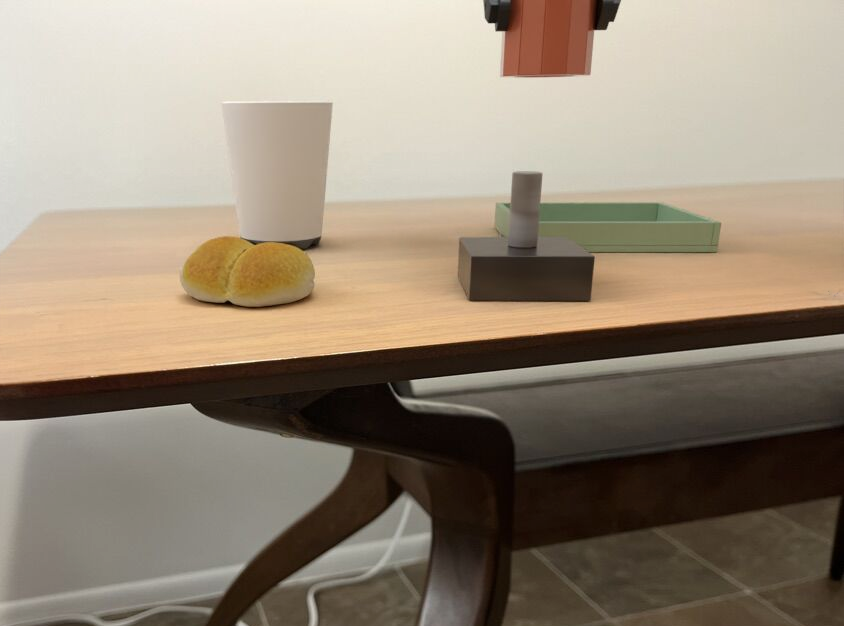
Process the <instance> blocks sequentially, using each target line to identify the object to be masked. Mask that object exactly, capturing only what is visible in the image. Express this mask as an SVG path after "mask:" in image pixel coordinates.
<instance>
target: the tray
mask: <svg viewBox="0 0 844 626" xmlns="http://www.w3.org/2000/svg"><path fill="white" fill-rule="evenodd" d="M510 203H511V202H495V209H494V228H495V230H496V231H497V232H498V233H499V234H500V235H502V237H508V235H509V219H510ZM721 228H722V222H721V221H718V220H715V219H713V218H710V217H706V216H704V215H701V214H698V213H695V212H692V211H690V210H686V209H683V208H681V207H677V206H675V205H671V204H668V203H665V202H662V201H658V202H657V201H656V202H653V201H652V202H650V201H649V202H648V201H645V202H641V201H640V202H639V201H637V202H636V201H635V202H634V201H633V202H632V201H631V202H629V201H627V202H623V201H622V202H619V201H617V202H616V201H615V202H613V201H612V202H609V201H608V202H607V201H606V202H602V201H601V202H597V201H596V202H595V201H594V202H591V201H590V202H583V201H582V202H581V201H580V202H578V201H577V202H570V201H569V202H565V201H564V202H558V201H557V202H555V201H553V202H540V215H539V228H538V237H567V238H569V239H570V240H572V241H573V242H574V243H576V244H577V245H579V246H580V247H582V248H583V249H585V250H586V251H587V252H589V253H718V248H719V241H720V234H721V230H722V229H721Z"/></svg>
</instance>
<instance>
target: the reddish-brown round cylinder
mask: <svg viewBox="0 0 844 626" xmlns="http://www.w3.org/2000/svg"><path fill="white" fill-rule="evenodd" d="M596 4H597V0H511V11H510V17H509V22H508V27H507V31H501V46H500V65H499V69H500V70H499V77H500V78H509V79H510V78H511V79H512V78H514V79H530V78H532V79H534V78H536V79H537V78H539V79H540V78H543V79H544V78H571V77H572V78H574V77H576V78H577V77H588V76H589V77H590V76H591V73H592V63H593V51H594V40H595V30H594V28H595V16H596Z"/></svg>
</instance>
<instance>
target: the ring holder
mask: <svg viewBox="0 0 844 626" xmlns="http://www.w3.org/2000/svg"><path fill="white" fill-rule="evenodd" d="M543 175H544V174H543V172H542V171H537V170H536V171H532V170H520V171H519V170H518V171H513V172H512V174H511V189H510V190H511V191H510V193H511V194H510V202H509V203H510V219H509V235H508V237H504V236H501V237H500V236H497V237H496V236H493V237H492V236H490V237H489V236H461V237H460V236H459V238H458V259H457V278H458V280H459V282H460V284H461V286H462V288H463V291H464V293H465V295H466V296H467V298H468V301H470V302H471V301H472V302H473V301H476V302H477V301H479V302H481V301H482V302H485V301H489V302H491V301H492V302H493V301H494V302H497V301H499V302H501V301H504V302H590V301H591V299H592V291H593V281H594V280H593V279H594V270H595V261H596V256H595V255H593V254H592V253H591V252H587V251H586V250H585V249H583V248H582V247H580V246H579V245H577V244H576V243H574V242H573V241H572V240H570V239H569V238H567V237H538V228H539V215H540V203H542V202H541V201H542V188H543V187H542V186H543Z"/></svg>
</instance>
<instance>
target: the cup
mask: <svg viewBox="0 0 844 626" xmlns="http://www.w3.org/2000/svg"><path fill="white" fill-rule="evenodd" d="M333 104H334V103H333V101H332V100H241V101H240V100H235V101H234V100H231V101H229V100H228V101H222V102H221V108H222V109H221V110H222V117H223V123H224V132H225V137H226V138H225V139H226V145H227V152H228V153H227V154H228V159H229V168H230V174H231V182H232V188H233V197H234V201H235V203H234V204H235V210H236V218H237V225H238V232H239V238H241V239H244V240H246V241H248V242H250V243H252V244H253V245H257V244H261V243H265V242H276V243H283V244H288V245H292V246H295V247H297V248H299V249H301V250H302V251H304V250H306V249H308V248H309V247H310V246H312V245H313V246H314V245H318V244H319V243H320V241H321V240H322V236H323V224H324V215H325V214H324V213H325V202H326V201H325V200H326V188H327V178H328V177H327V176H328V166H329V153H330V140H331V131H332V130H331V129H332V127H331V126H332V117H333V116H332V115H333Z"/></svg>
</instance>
